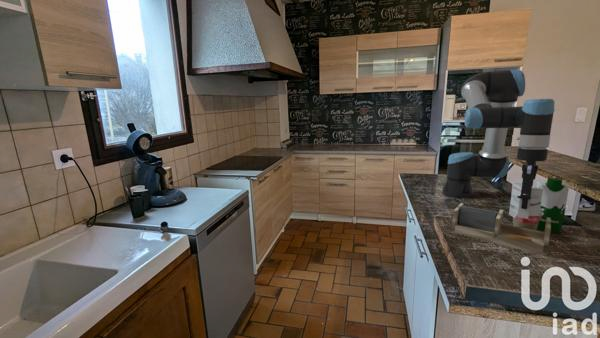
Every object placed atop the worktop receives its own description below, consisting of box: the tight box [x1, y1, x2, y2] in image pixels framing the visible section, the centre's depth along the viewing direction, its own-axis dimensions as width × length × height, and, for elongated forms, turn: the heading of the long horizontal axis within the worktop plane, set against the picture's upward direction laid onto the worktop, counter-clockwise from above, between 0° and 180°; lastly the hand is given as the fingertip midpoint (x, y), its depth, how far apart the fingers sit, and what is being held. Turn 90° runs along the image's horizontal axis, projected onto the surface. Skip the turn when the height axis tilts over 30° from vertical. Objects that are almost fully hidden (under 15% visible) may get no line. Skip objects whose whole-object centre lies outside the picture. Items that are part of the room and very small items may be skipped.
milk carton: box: [535, 177, 570, 234], centre depth 104 cm, size 9×9×20 cm
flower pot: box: [512, 211, 544, 231], centre depth 101 cm, size 9×9×9 cm
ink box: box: [508, 182, 543, 224], centre depth 92 cm, size 9×5×12 cm, turn 168°
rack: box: [450, 202, 551, 257], centre depth 98 cm, size 12×27×9 cm, turn 48°
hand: (523, 213), depth 92 cm, fingers closed on ink box, 9 cm apart
